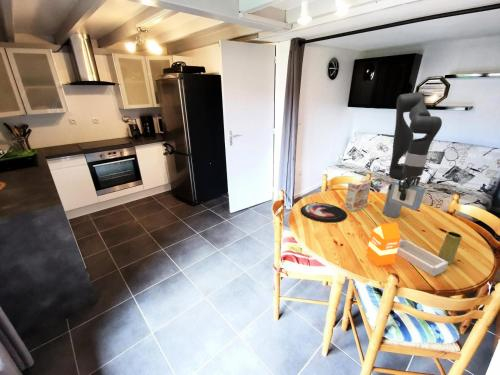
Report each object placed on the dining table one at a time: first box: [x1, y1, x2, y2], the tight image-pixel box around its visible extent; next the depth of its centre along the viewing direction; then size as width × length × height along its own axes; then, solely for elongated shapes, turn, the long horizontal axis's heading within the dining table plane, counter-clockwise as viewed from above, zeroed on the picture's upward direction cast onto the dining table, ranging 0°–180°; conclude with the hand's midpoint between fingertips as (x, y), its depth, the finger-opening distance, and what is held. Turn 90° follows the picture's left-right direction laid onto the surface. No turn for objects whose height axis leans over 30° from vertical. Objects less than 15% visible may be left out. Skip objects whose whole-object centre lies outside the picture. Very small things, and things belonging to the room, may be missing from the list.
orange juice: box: [365, 221, 402, 267], centre depth 106 cm, size 8×9×20 cm
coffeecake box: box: [343, 178, 372, 213], centre depth 157 cm, size 15×7×20 cm, turn 120°
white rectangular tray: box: [396, 238, 449, 277], centre depth 109 cm, size 9×20×4 cm, turn 25°
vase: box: [437, 231, 463, 265], centre depth 107 cm, size 6×6×14 cm
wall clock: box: [300, 202, 348, 223], centre depth 154 cm, size 27×5×30 cm
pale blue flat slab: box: [388, 179, 426, 211], centre depth 107 cm, size 4×12×10 cm, turn 30°
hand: (404, 199), depth 107 cm, fingers closed on pale blue flat slab, 4 cm apart
